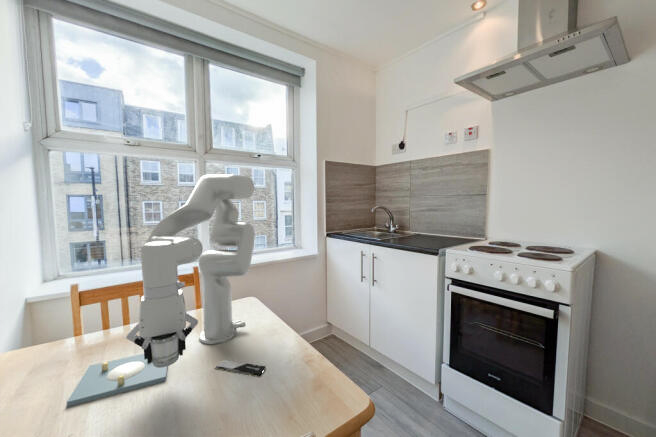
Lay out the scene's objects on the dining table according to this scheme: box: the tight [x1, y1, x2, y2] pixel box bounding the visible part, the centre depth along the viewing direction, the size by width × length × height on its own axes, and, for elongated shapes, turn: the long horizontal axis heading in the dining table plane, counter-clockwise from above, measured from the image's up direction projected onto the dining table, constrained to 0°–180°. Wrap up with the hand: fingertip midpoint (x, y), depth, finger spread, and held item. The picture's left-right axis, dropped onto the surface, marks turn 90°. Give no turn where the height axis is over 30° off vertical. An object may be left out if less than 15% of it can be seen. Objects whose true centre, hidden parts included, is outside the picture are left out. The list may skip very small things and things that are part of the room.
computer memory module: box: [214, 360, 267, 378], centre depth 77 cm, size 15×1×4 cm
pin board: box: [66, 353, 169, 408], centre depth 74 cm, size 20×16×3 cm
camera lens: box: [150, 332, 180, 368], centre depth 68 cm, size 6×6×8 cm
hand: (166, 355), depth 69 cm, fingers closed on camera lens, 6 cm apart
